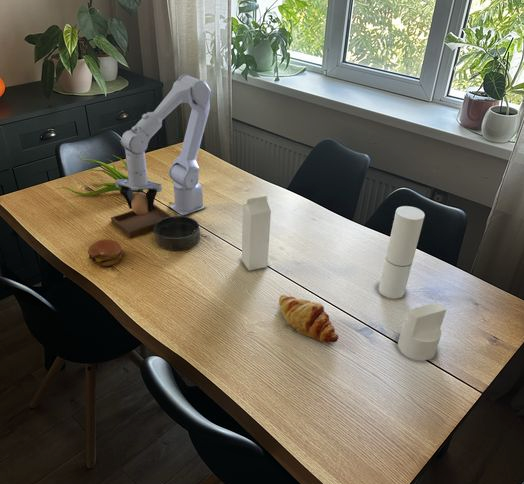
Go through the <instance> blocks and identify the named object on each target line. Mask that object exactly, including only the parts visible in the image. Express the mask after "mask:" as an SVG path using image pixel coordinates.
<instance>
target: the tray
mask: <svg viewBox="0 0 524 484" xmlns="http://www.w3.org/2000/svg"><path fill="white" fill-rule="evenodd" d="M171 216H172V215H170V214H169V213H167V212H166V211H165V210H163V209H162V208H160V207H159V206H158V205H157V204H155V203H153V209H152V211H148V213H147V214H145V215H143V216H140V215H137V214H136V213H135V212H134V211H133V210H130V211H127V212H123V213H121V214H117V215H114V216H111V217H110V220H111V221H110V222H111V224H112V225H113V226H115V227H116V228H117V229H118V230H120V232H122V233H123V235H125V236H127V237H128V238H129V239H132V238H135V237H138V236H141V235H143V234H146V233H148V232H149V233H150V232H152V231H154V230H153V228H154V225H155V224H156V222H157V221H159V220H161V219H163V218H166V217H171Z"/></svg>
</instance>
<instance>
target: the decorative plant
mask: <svg viewBox="0 0 524 484" xmlns="http://www.w3.org/2000/svg"><path fill="white" fill-rule="evenodd" d="M77 157H78V158H79V159H80V160H82V161H85V162H92V163H94V164H99V165H100V166H102V168H104V169H94V168H87V170H88V171H89V170H90V171H94V172H101V173H102V172H103V173H104V174H106V175H108V176H109V177H111V178H112V179H113V180H114V181H115V182H116V181H117V179H129V178H128V174H124V173H123V172H121V171H120V170H119V169H117V167H116V165H115V163H114V162H113V161H112V160H110V159H109V158H107V160H108V161H110V162H111V163H112V164H113V165H110V164H108V163H105V162H101V161H100V160H99V161H98V160H95V159H89V158H87V157H85V159H83V158H82V157H80V156H78V155H77ZM114 157H115V158H117V159H118V160H120V161H121V162H123V165H124V166H125V167H124V166H121V165H119V167H120V168H123V169H124V170H126V171H127V172H128V170H127V161H126V160H124V159H122V158H121V157H120V156H119V157H118V156H116V155H114ZM81 169H84V170H85V168H84V167H82V168H81ZM105 169H106V170H105ZM115 182H102V183H100V184H96V183H94V182H93V181H90V183H91V184H93V185H95V186H99V187H101V186H104V187H102V188H99V189H97V190H91V191H88V192H80V191H76V190H74V189H72V188H70V187H64V186H62V187H57V188H53V191H55V190H59V189H66V190H69V191H71V192H72V193H74V194H77V195H81V196H98V195H102V194H106V193H110V192H116V191H120V190H121V187H116V183H115ZM139 192H141V193H144V189H138V190H133V193H139Z"/></svg>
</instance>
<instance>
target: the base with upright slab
mask: <svg viewBox="0 0 524 484" xmlns="http://www.w3.org/2000/svg"><path fill="white" fill-rule="evenodd" d="M446 313H447V308H446V307H445V305H444V304H442V303H441V302H439V301H436V302H433V303H429V304H425V305H421V306H418V307H414V308H409V310H408V313H407V316H406V319H405V320H404V321H403V322H402V325H401V329H400V333H399V337H398V340H397V346H398V350H399V351H400V353H402V354H403V355H404V356H406V357H407V358H409V359H412V360H415V361H424V362H425V361H429V360H431V359H432V358H434V357H435V355H436V353H437V349H438V345H439V342H440V340H441V337H442V330H441V327H442V325H443V322H444V319H445V316H446Z"/></svg>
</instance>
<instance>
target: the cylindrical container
mask: <svg viewBox="0 0 524 484" xmlns="http://www.w3.org/2000/svg"><path fill="white" fill-rule="evenodd" d="M394 213H395V214H394V218H393V219H394V220H393V222H392V228H391V232H390V236H389V241H388V245H387V248H386V249H387V250H386V253H385V258H384V263H383V267H382V272H381V276H380V280H379V281H380V282H379V284H378V292H379V293H380V294H381V295H382V296H384V297H386V298H388V299H400V298H403V297H404V295H405V292H406V289H407V284H408V281H409V277H410V273H411V269H412V266H413V262H414V259H415V255H416V250H417V248H418V247H417V246H418V243H419V239H420V235H421V231H422V229H423V228H422V227H423V223H424V220H425V217H426V215H425V212H424V211H423V210H421V209H420V208H418V207H415V206H408V205H402V206H399V207H397V208H396V210H395V212H394Z"/></svg>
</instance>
